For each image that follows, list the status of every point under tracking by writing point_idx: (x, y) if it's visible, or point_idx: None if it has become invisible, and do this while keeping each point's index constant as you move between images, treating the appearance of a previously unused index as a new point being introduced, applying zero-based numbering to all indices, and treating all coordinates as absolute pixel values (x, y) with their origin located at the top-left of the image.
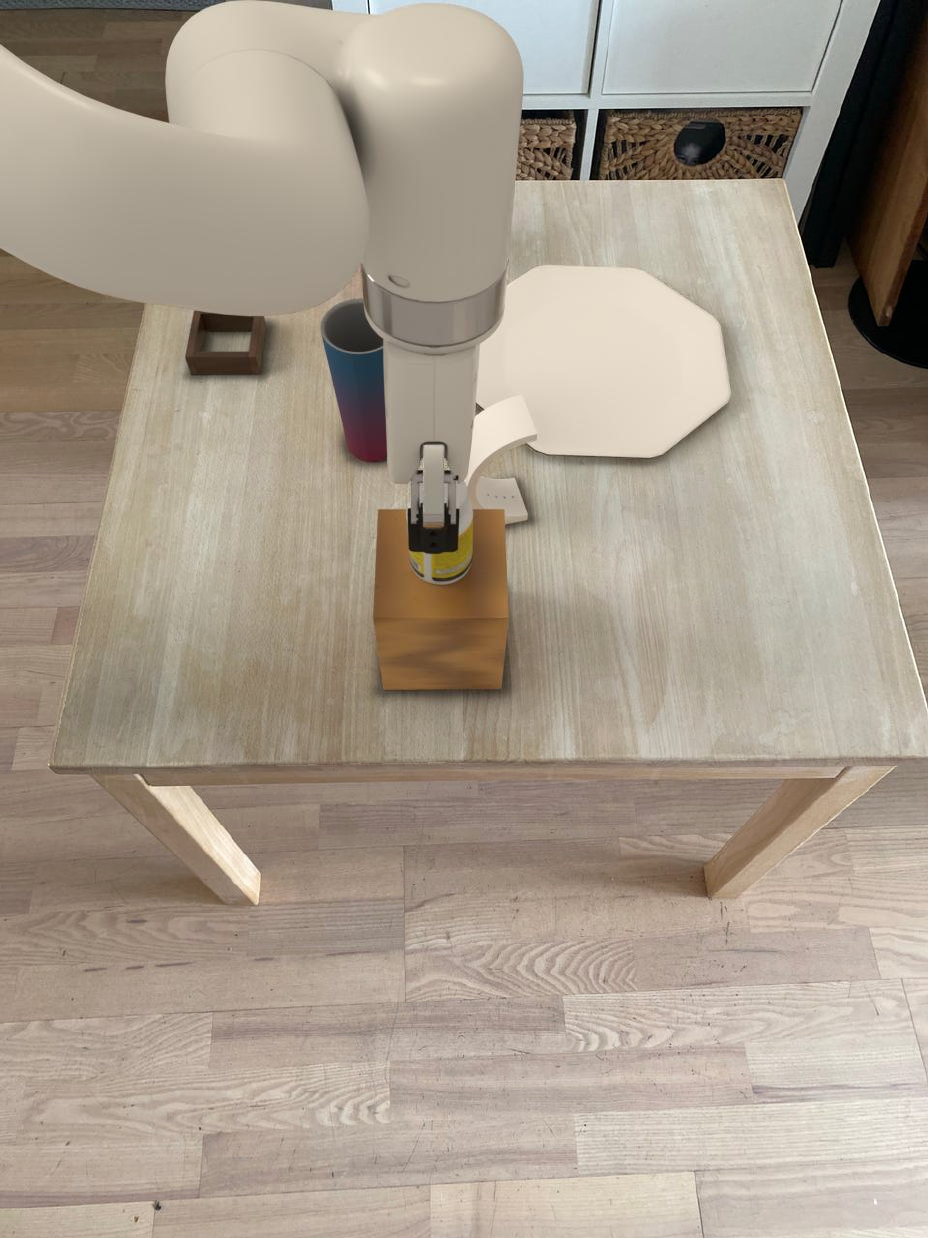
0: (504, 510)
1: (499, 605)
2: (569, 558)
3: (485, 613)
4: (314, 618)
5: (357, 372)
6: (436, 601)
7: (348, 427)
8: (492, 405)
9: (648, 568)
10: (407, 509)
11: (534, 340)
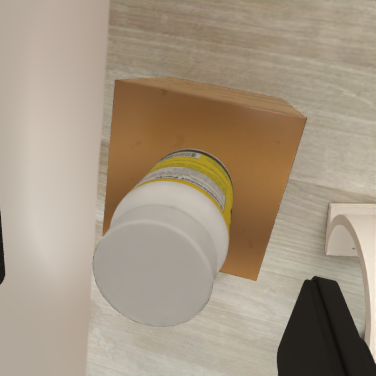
0: (337, 237)
1: None
2: (269, 269)
3: (108, 219)
4: (267, 8)
5: None
6: (131, 168)
7: None
8: None
9: (242, 319)
10: (178, 190)
11: None
